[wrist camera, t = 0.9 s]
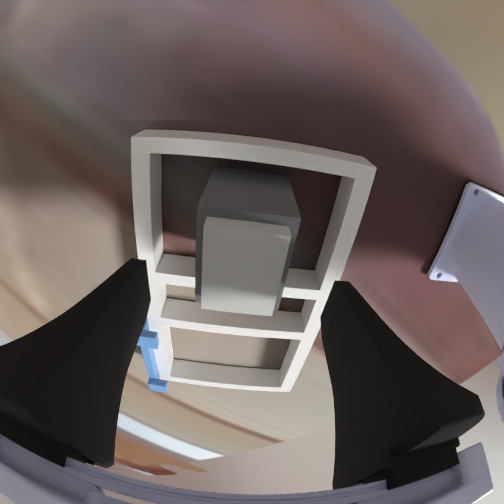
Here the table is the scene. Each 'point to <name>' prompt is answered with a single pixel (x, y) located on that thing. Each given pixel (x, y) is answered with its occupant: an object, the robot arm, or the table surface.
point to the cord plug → (244, 241)
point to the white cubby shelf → (183, 267)
